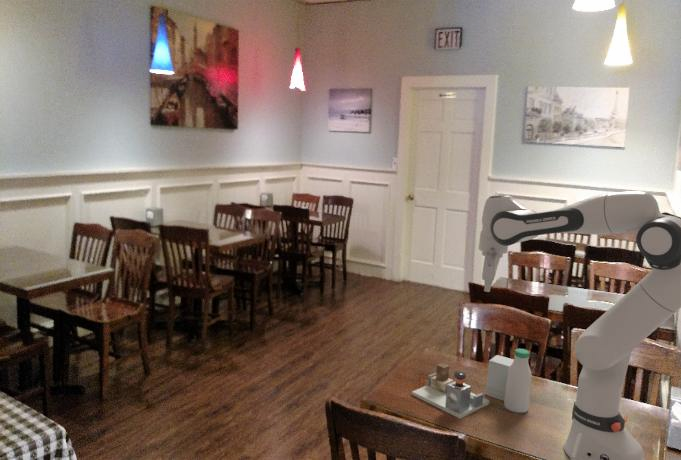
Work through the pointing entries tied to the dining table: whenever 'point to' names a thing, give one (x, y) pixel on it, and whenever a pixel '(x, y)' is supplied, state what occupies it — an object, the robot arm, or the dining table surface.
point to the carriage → (441, 377)
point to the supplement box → (497, 376)
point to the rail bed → (439, 399)
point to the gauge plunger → (459, 379)
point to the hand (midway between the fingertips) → (488, 287)
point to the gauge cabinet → (458, 397)
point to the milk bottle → (518, 383)
